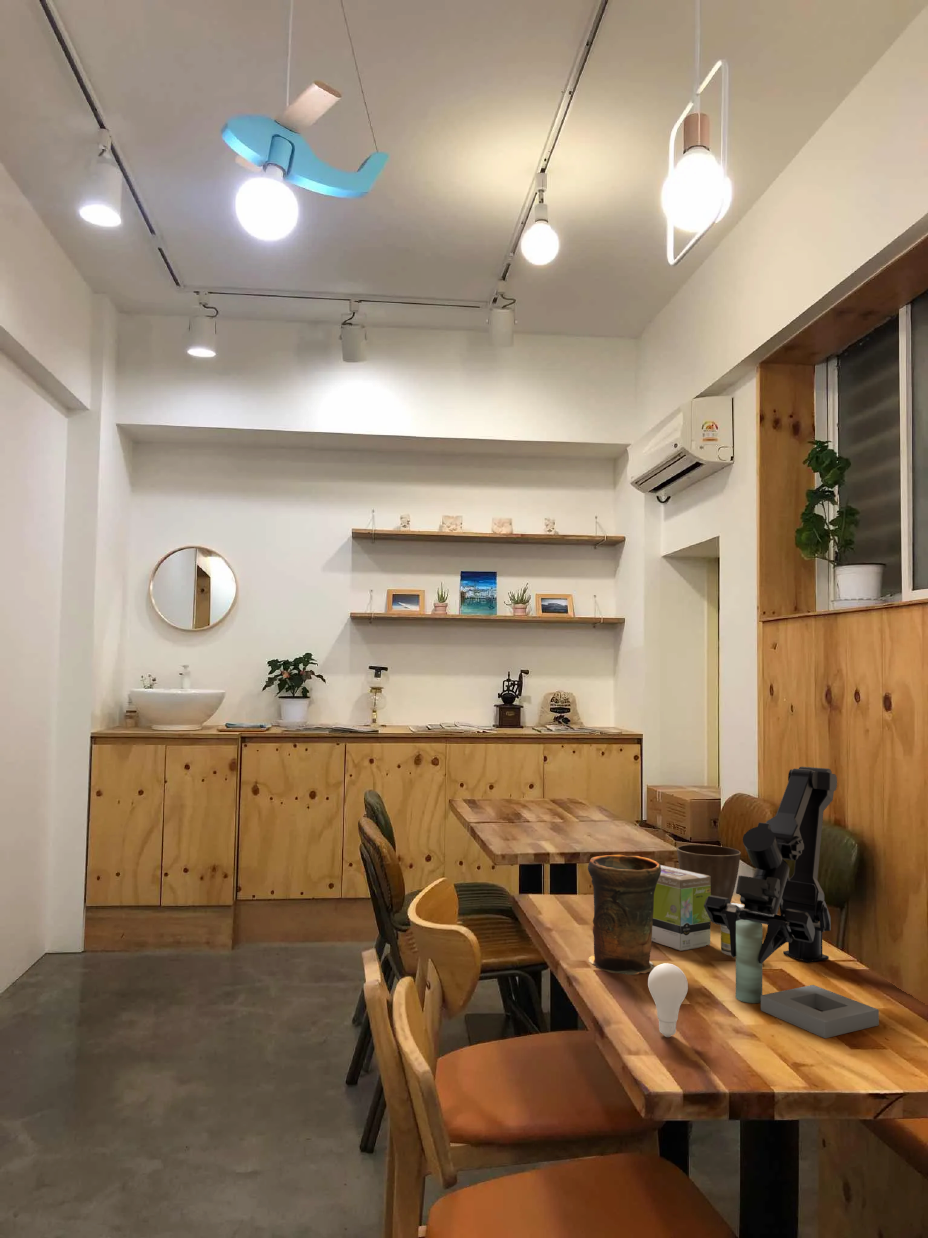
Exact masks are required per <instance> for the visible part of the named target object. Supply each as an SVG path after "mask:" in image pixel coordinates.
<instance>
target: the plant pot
mask: <svg viewBox="0 0 928 1238" xmlns="http://www.w3.org/2000/svg"><path fill="white" fill-rule="evenodd" d="M676 852H677V854H676V855H677V861H678V867H679V868H678V869H682V870H686V871H690V872H695V873H699V874H704V875H708V876H710V877H711V895H713V896H719V897H725V898H729V901H730V903H732V899H733V895H734V892H735V890H736V889H735V888H736V885H737V881H738V876H739V875H738V873H739V868H740V860H741V854H742V853H741V851H740V850H738V849H736V848H732V847H727V846H720V845H710V844H683V845H679V846H677V847H676Z"/></svg>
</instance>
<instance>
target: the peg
mask: <svg viewBox="0 0 928 1238" xmlns="http://www.w3.org/2000/svg"><path fill="white" fill-rule="evenodd" d="M763 925H764V924H762V923H760V922H756V921H751V920H738V921H736V956H735V998H736V1000H737V1001H740V1002H742V1003H743V1002H744V1003H748V1004H761V995H763V963H762V964H760V963H759V961H758V958H759V953H760V950H761V947H762V944H763V935H764V934H763V931H764V930H763Z"/></svg>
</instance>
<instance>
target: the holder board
mask: <svg viewBox="0 0 928 1238" xmlns="http://www.w3.org/2000/svg"><path fill="white" fill-rule="evenodd" d="M760 1011H761V1012H764V1013H766V1014H767V1015H771V1016H772V1017H775V1018H777V1019H779V1020H782V1021H783V1022H786V1023H789V1024H791V1025H794V1026H796V1027H798V1028H800V1029H802V1030H805V1031H807V1032H809V1033H811V1034H814V1035H816V1036H818V1037H820V1038H823V1039H829V1038H832V1037H836V1036H837V1037H838V1036H839V1035H840V1036H841V1035H844V1034H848V1033H852V1032H856V1031H861V1030H866V1029H869V1028H873V1027H877V1026H880V1022H879V1021H880V1020H879V1019H880V1018H879V1017H880V1015H879V1014H880V1013H879V1012H880V1011H879V1008H876V1007H873V1006H870V1005H867V1004H865V1003H862V1002H860V1001H857V1000H855V999H851V998H849V997H846V996H843V995H842V994H838V993H836V992H834V991H831V990H828V989H825V988H822V987H820V986H817V985H815V984H811V985H810V984H809V985H805V986H801V987H795V988H792V989H791V988H790V989H786V990H782V991H775V992H771V993H770V992H769V993H765V994H762V995H761V1002H760Z"/></svg>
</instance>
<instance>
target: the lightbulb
mask: <svg viewBox="0 0 928 1238" xmlns="http://www.w3.org/2000/svg"><path fill="white" fill-rule="evenodd" d="M654 967H655V968H654V969H653V970H652V971H651V972H649V975H648V978H647V986H648V990H649V992H650V995H651V997H652V999H653V1001H654V1004H655V1008H656V1017H657V1019H658V1030H659V1031H658V1032H659V1033H661V1034H662V1035H663V1036H664V1037H666V1038H670V1037H672V1036H674V1035H675V1034H676V1030H677V1021H678V1019H679V1013H680V1012H679V1011H680V1008H681V1005H682V1003H683V1002H684V1000H685V998H686V996H687V993H688V991H689V983H688V979H687V976H686V974H685V973H684V972H683V970H682V969H681V968H680V967H679V966H677V965H675V964H672V963H667V962H666V963H661V964H658V965H656V966H654Z"/></svg>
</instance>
